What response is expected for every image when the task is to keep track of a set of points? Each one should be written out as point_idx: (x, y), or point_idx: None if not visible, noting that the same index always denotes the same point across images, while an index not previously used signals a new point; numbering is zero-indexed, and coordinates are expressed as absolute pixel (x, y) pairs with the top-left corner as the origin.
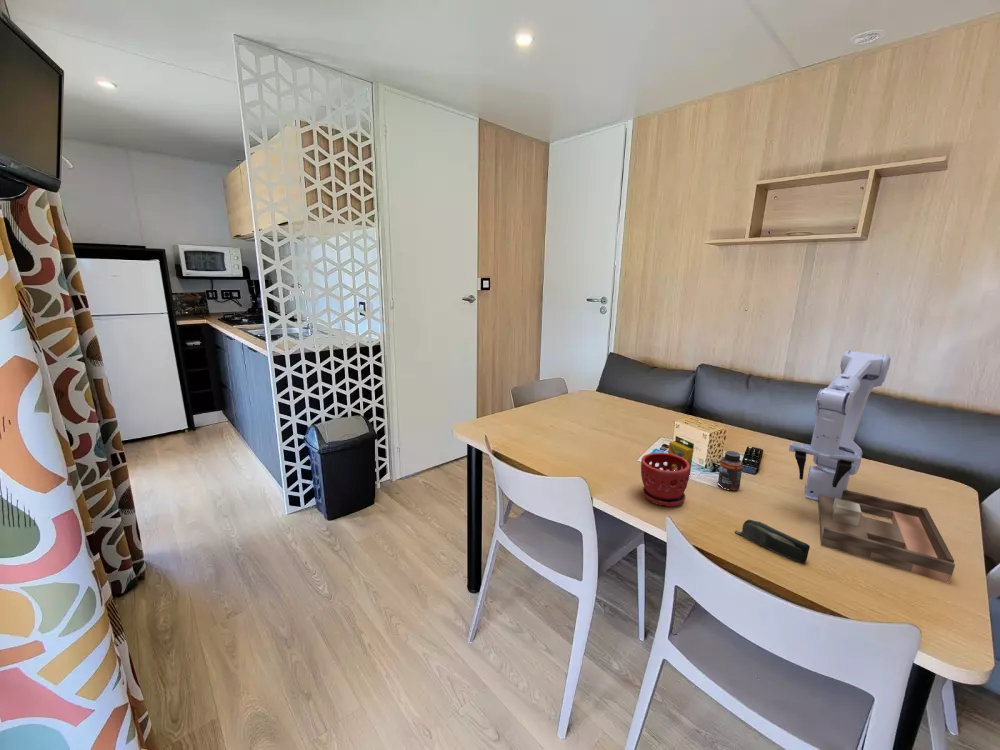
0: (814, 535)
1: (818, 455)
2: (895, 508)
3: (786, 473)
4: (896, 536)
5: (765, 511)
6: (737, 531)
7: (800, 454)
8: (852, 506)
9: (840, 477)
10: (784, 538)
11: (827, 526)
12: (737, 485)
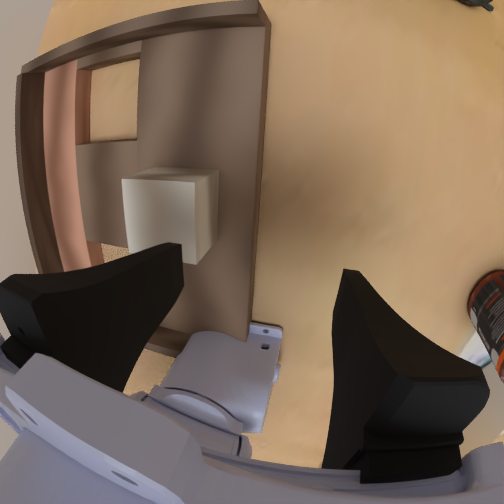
0: (285, 71)
1: (224, 461)
2: None
3: (306, 420)
4: (85, 171)
5: (428, 173)
6: (489, 5)
7: (422, 443)
8: (143, 217)
9: (110, 263)
10: None
11: (241, 103)
12: (489, 290)
